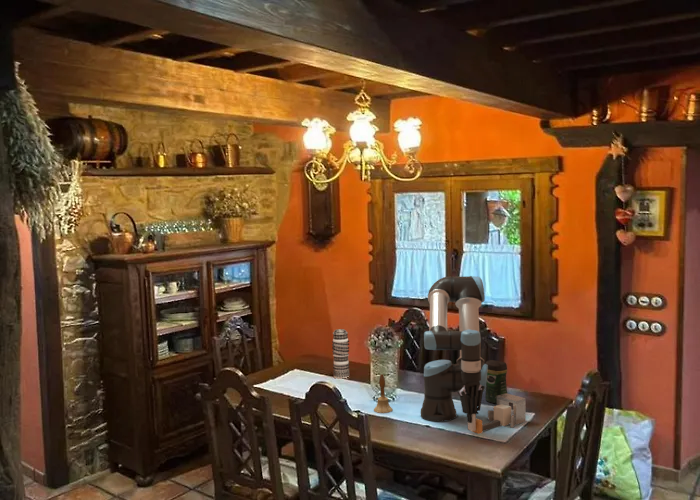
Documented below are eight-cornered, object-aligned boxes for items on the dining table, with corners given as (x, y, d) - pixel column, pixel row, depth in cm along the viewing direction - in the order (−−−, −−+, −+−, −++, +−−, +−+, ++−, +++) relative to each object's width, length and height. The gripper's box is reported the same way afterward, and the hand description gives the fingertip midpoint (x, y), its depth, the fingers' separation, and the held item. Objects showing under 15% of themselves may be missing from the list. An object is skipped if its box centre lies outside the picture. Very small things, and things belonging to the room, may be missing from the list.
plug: (479, 434, 260) (479, 416, 260) (470, 430, 264) (470, 413, 264) (511, 423, 272) (511, 406, 271) (501, 420, 276) (501, 403, 275)
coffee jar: (510, 401, 301) (510, 361, 299) (499, 405, 296) (498, 364, 295) (493, 397, 308) (493, 357, 307) (482, 400, 303) (481, 360, 302)
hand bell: (386, 414, 288) (386, 377, 287) (370, 411, 292) (369, 375, 291) (396, 409, 295) (395, 373, 294) (379, 406, 299) (378, 371, 298)
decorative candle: (350, 379, 348) (349, 331, 346) (332, 379, 348) (331, 331, 346) (350, 374, 357) (349, 328, 355) (333, 374, 357) (331, 328, 355)
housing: (512, 428, 266) (512, 404, 266) (487, 420, 276) (487, 397, 276) (528, 422, 272) (528, 399, 272) (503, 415, 283) (503, 392, 282)
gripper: (466, 375, 253) (467, 436, 254) (489, 369, 260) (490, 428, 262) (452, 371, 259) (453, 431, 260) (475, 366, 266) (475, 424, 268)
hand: (471, 429), depth 261 cm, fingers closed
